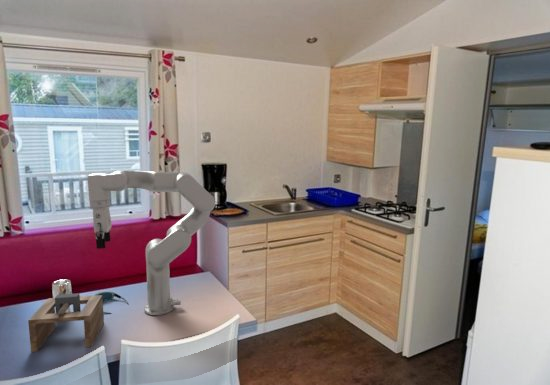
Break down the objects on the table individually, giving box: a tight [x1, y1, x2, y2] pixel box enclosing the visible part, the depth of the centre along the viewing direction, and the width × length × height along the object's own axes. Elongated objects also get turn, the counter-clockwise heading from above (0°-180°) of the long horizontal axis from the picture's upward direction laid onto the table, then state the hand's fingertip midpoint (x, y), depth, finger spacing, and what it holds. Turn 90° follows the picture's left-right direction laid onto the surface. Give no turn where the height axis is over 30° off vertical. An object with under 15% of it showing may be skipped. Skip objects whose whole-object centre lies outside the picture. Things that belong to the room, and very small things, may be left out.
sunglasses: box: [92, 290, 130, 315], centre depth 171 cm, size 14×15×5 cm
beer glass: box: [51, 279, 73, 313], centre depth 160 cm, size 7×7×15 cm
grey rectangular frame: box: [55, 293, 82, 313], centre depth 144 cm, size 8×3×9 cm, turn 101°
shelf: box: [27, 294, 105, 353], centre depth 144 cm, size 20×18×14 cm
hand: (103, 244), depth 157 cm, fingers open, 9 cm apart
